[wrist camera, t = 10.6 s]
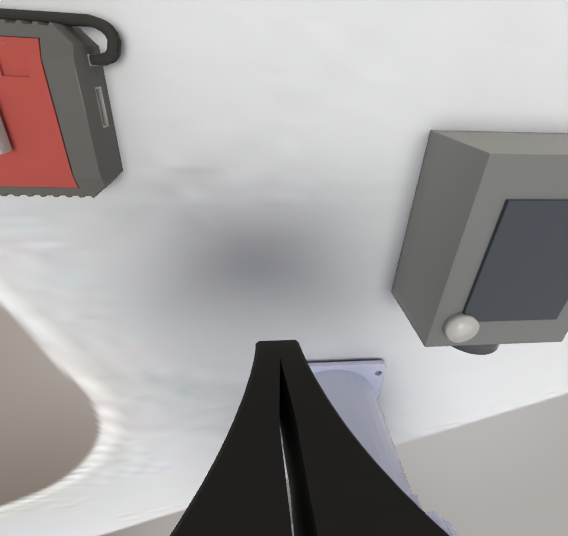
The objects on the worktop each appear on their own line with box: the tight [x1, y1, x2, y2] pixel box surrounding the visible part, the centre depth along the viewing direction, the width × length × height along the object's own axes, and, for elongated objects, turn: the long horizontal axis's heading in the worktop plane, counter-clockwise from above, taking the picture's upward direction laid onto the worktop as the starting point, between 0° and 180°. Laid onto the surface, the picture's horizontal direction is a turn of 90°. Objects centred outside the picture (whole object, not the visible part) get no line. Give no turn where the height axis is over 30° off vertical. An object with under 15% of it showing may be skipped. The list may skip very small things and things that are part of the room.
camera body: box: [392, 130, 568, 355], centre depth 18 cm, size 11×8×6 cm
